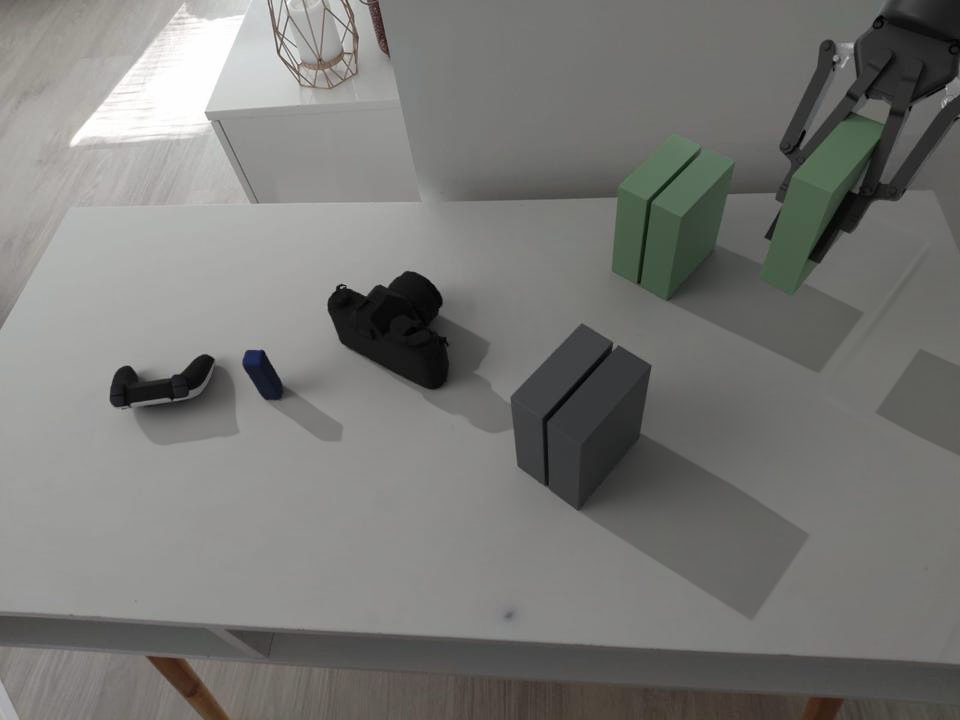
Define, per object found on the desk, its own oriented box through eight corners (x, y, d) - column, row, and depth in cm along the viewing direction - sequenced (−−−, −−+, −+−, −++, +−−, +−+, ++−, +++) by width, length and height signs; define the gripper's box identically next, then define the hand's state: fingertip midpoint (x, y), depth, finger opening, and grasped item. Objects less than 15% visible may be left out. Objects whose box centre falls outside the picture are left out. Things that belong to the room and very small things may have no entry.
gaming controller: (130, 403, 86) (101, 419, 79) (120, 365, 85) (90, 378, 78) (223, 388, 86) (202, 404, 79) (215, 350, 85) (193, 362, 78)
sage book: (843, 233, 75) (890, 126, 64) (791, 296, 71) (832, 193, 60) (809, 218, 76) (850, 110, 66) (758, 279, 72) (792, 175, 62)
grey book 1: (606, 416, 77) (613, 341, 66) (544, 486, 73) (542, 419, 63) (578, 398, 79) (581, 322, 68) (517, 466, 75) (509, 396, 64)
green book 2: (714, 247, 88) (735, 161, 78) (666, 300, 85) (681, 217, 74) (688, 234, 90) (706, 147, 79) (640, 286, 86) (651, 202, 76)
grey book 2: (639, 438, 75) (652, 365, 65) (577, 511, 72) (580, 445, 61) (610, 419, 77) (618, 344, 66) (548, 489, 73) (546, 422, 62)
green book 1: (685, 233, 90) (701, 146, 80) (636, 284, 86) (647, 200, 76) (660, 220, 92) (673, 133, 81) (611, 270, 88) (618, 186, 77)
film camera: (485, 337, 84) (478, 284, 77) (434, 400, 80) (422, 351, 73) (380, 284, 90) (364, 231, 82) (327, 341, 86) (305, 290, 78)
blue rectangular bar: (281, 401, 82) (260, 365, 76) (261, 400, 82) (239, 365, 76) (285, 384, 83) (265, 347, 77) (266, 383, 83) (244, 347, 78)
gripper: (1050, 36, 61) (884, 294, 68) (853, -24, 68) (721, 215, 75) (1061, 5, 55) (877, 293, 62) (843, -58, 62) (700, 207, 69)
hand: (792, 250), depth 69 cm, fingers closed on sage book, 3 cm apart
